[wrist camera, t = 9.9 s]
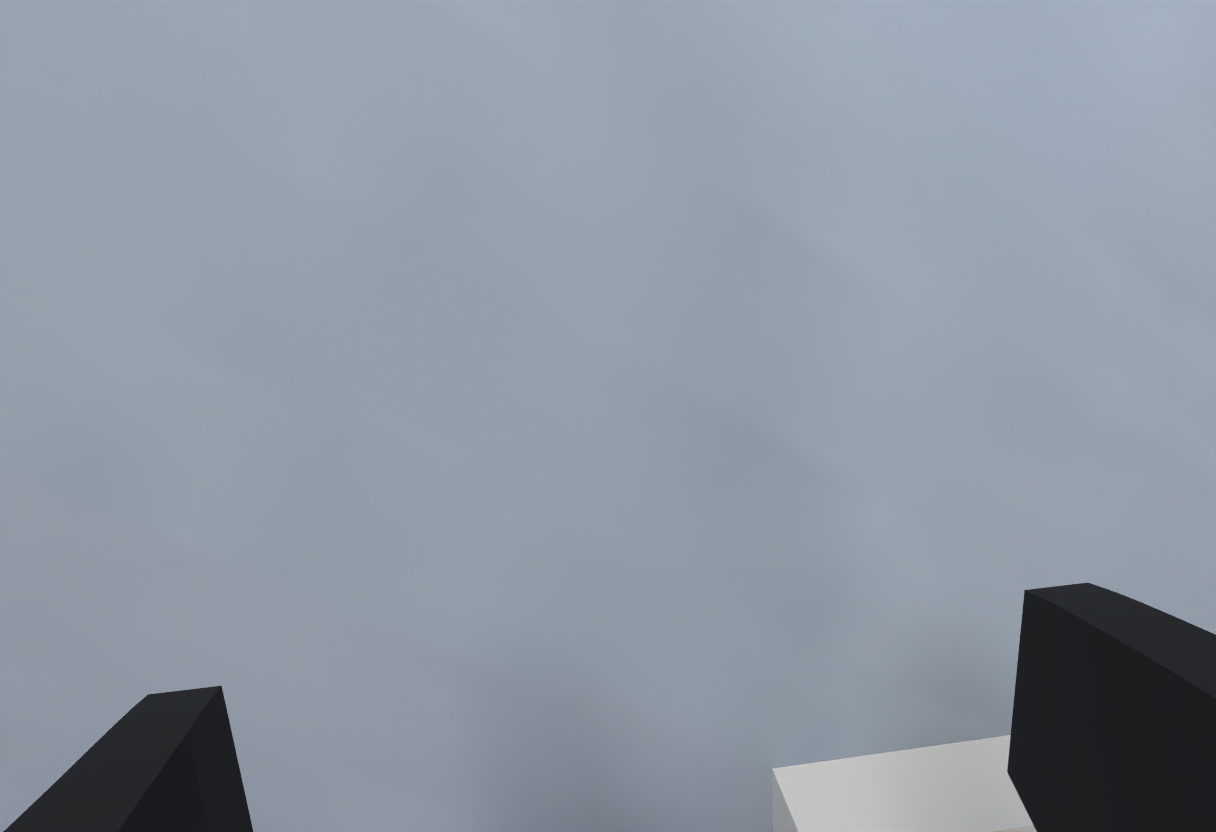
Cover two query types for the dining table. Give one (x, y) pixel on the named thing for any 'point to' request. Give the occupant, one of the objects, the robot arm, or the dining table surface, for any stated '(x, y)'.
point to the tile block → (903, 792)
